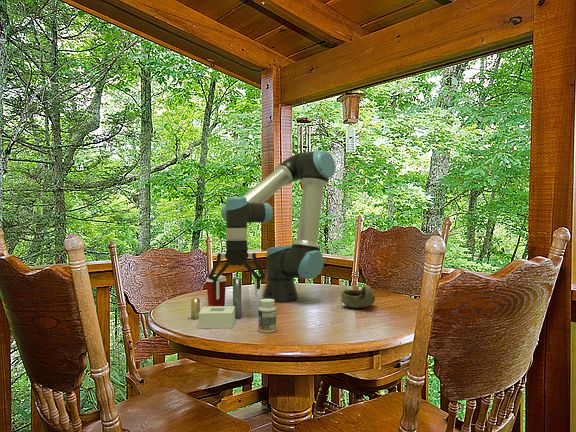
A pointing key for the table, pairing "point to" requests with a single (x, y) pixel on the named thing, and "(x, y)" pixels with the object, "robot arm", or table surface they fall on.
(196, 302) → the short pin
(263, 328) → the pill bottle
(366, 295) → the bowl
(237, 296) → the long pin
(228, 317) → the hole block
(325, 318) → the table surface
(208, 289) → the paper cup
